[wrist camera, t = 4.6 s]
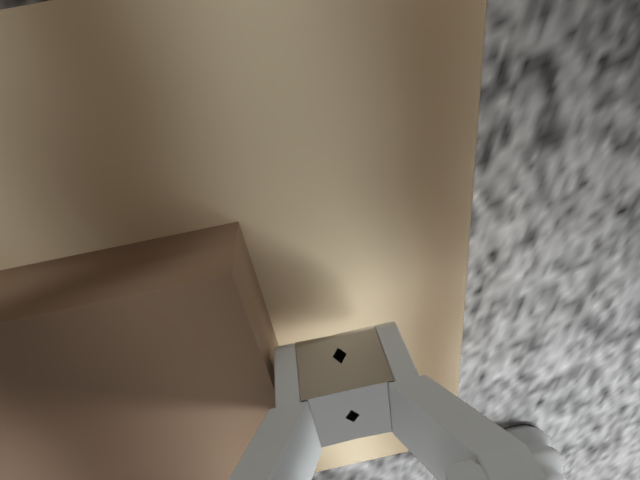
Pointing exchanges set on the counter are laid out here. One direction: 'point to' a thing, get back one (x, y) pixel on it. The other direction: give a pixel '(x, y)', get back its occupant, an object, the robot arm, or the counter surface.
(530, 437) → the rook chess piece
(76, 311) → the walnut tile
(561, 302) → the counter surface
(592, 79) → the counter surface
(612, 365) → the counter surface
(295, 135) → the oak board
